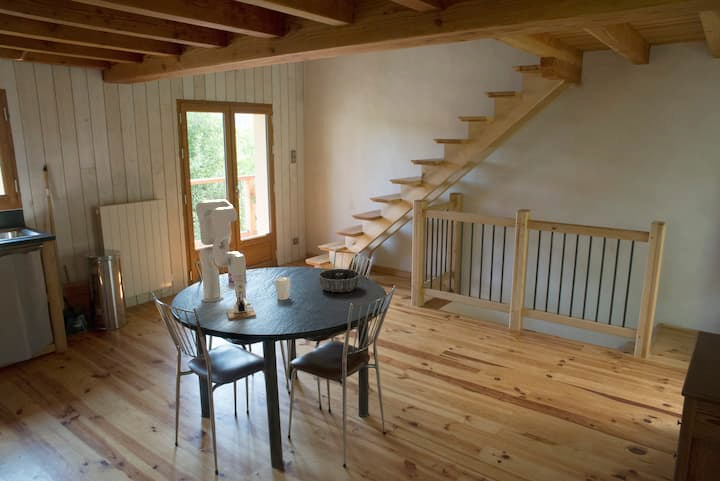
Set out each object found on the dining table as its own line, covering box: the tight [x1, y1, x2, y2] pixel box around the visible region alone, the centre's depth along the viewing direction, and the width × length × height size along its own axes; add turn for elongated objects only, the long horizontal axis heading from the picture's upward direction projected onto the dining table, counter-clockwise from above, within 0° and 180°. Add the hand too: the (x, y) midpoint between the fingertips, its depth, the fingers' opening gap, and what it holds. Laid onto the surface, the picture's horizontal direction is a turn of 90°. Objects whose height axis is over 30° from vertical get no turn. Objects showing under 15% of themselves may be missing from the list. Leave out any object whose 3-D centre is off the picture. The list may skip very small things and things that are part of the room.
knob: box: [233, 300, 251, 313], centre depth 269 cm, size 8×6×4 cm
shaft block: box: [226, 303, 257, 321], centre depth 269 cm, size 14×14×6 cm
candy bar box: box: [227, 263, 247, 284], centre depth 332 cm, size 11×5×16 cm, turn 73°
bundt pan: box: [317, 268, 361, 293], centre depth 315 cm, size 26×26×10 cm
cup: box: [274, 276, 291, 301], centre depth 297 cm, size 9×9×12 cm
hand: (240, 309), depth 269 cm, fingers closed on knob, 6 cm apart
